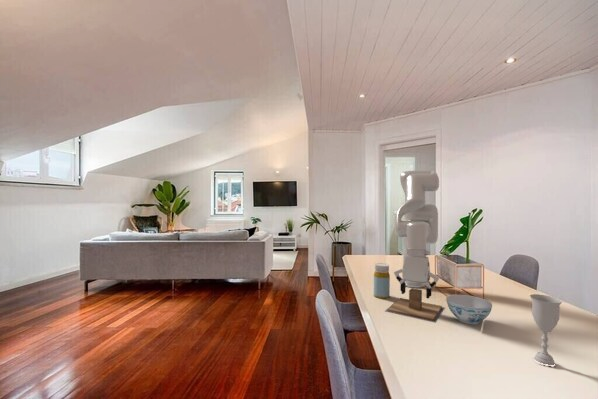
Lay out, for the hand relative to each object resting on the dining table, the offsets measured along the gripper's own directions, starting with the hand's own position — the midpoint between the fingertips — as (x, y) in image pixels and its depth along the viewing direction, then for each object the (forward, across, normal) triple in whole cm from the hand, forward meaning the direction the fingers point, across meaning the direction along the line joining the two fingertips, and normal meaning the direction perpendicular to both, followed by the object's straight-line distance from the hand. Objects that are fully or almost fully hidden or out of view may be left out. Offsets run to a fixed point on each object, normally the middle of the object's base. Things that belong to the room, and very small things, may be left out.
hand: (415, 295), depth 126 cm
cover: (+6, 0, -1) cm, 6 cm away
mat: (+6, 0, -1) cm, 6 cm away
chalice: (+7, -40, +19) cm, 45 cm away
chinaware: (+7, -19, -1) cm, 20 cm away
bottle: (+6, +17, -9) cm, 20 cm away
